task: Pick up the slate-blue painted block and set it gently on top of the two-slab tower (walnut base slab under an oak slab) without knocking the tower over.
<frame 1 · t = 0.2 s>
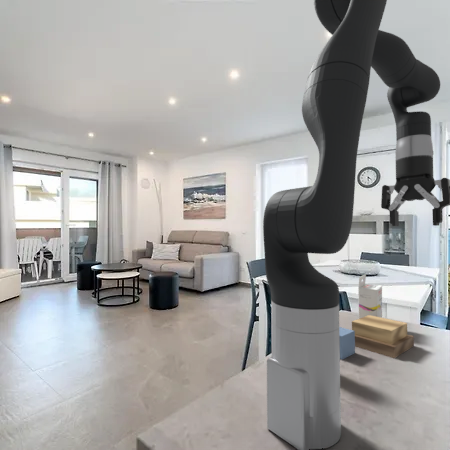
hand: (415, 225, 70), 29 cm above the countertop, fingers open, 8 cm apart
ink cartridge box: (371, 328, 83), on the countertop
slate block: (337, 352, 66), on the countertop
walnut base slab: (379, 347, 71), on the countertop, touching oak top slab
oak top slab: (379, 334, 71), point 2 cm above the countertop, touching walnut base slab
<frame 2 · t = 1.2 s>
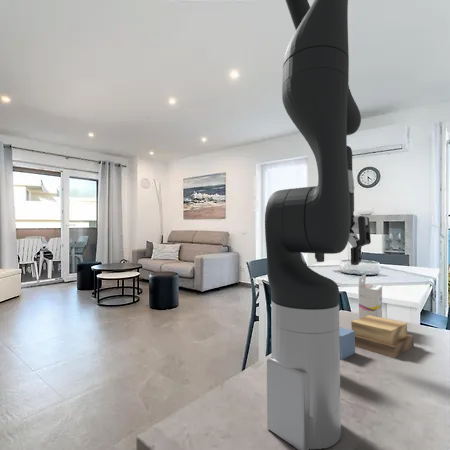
hand: (336, 263, 67), 20 cm above the countertop, fingers open, 8 cm apart
nothing on the countertop moved.
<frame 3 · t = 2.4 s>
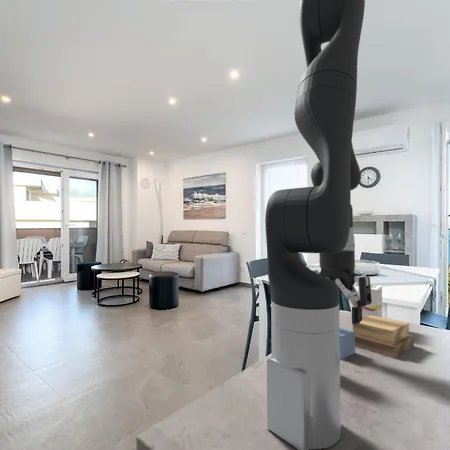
hand: (337, 319, 67), 7 cm above the countertop, fingers open, 8 cm apart
nothing on the countertop moved.
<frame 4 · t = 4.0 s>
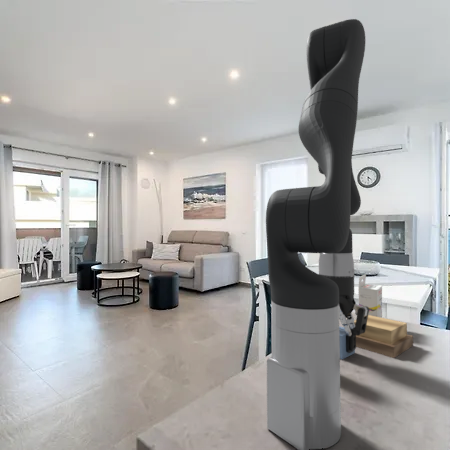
hand: (337, 347, 66), 1 cm above the countertop, fingers closed on slate block, 5 cm apart
slate block: (337, 352, 66), on the countertop, touching gripper
everything else where it was.
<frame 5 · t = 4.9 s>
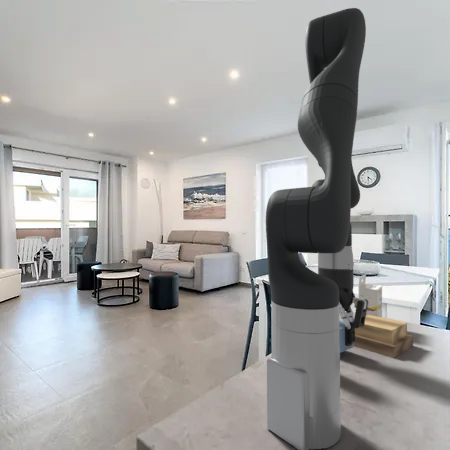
hand: (336, 340, 66), 3 cm above the countertop, fingers closed on slate block, 5 cm apart
slate block: (336, 345, 66), point 1 cm above the countertop, touching gripper
everything else where it was.
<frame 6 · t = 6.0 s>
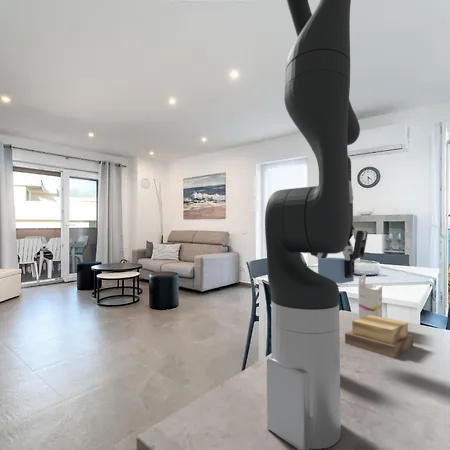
hand: (335, 275, 67), 17 cm above the countertop, fingers closed on slate block, 5 cm apart
slate block: (335, 280, 67), point 16 cm above the countertop, touching gripper
walnut base slab: (378, 347, 71), on the countertop
oak top slab: (379, 334, 71), point 2 cm above the countertop
everything else where it was.
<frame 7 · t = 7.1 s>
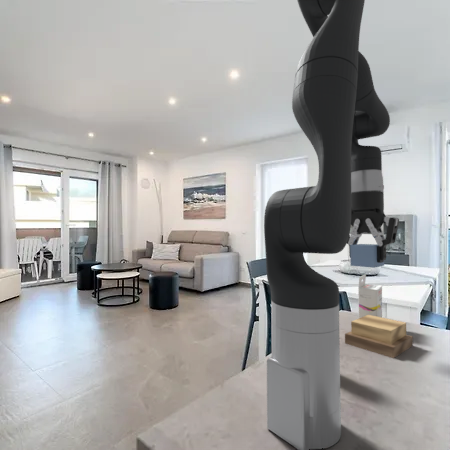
hand: (367, 261, 71), 20 cm above the countertop, fingers closed on slate block, 5 cm apart
slate block: (367, 265, 71), point 19 cm above the countertop, touching gripper
walnut base slab: (378, 347, 71), on the countertop, touching oak top slab
oak top slab: (378, 334, 71), point 2 cm above the countertop, touching walnut base slab
everything else where it was.
when the fingers open (8 cm above the countertop, at t = 11.8 s): slate block drops 2 cm, resting on oak top slab.
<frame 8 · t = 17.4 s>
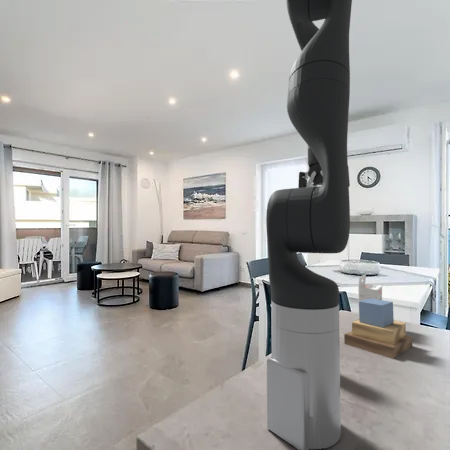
hand: (322, 206, 80), 34 cm above the countertop, fingers open, 8 cm apart
slate block: (376, 322, 71), point 5 cm above the countertop, touching oak top slab
oak top slab: (378, 335, 71), point 2 cm above the countertop, touching slate block, walnut base slab
everything else where it was.
at the end: slate block 0.3 cm off-centre on the walnut base slab, point 6.1 cm above the walnut base slab's base; slate block tilted 1°; oak top slab 0.5 cm off-centre on the walnut base slab, point 3.0 cm above the walnut base slab's base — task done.
